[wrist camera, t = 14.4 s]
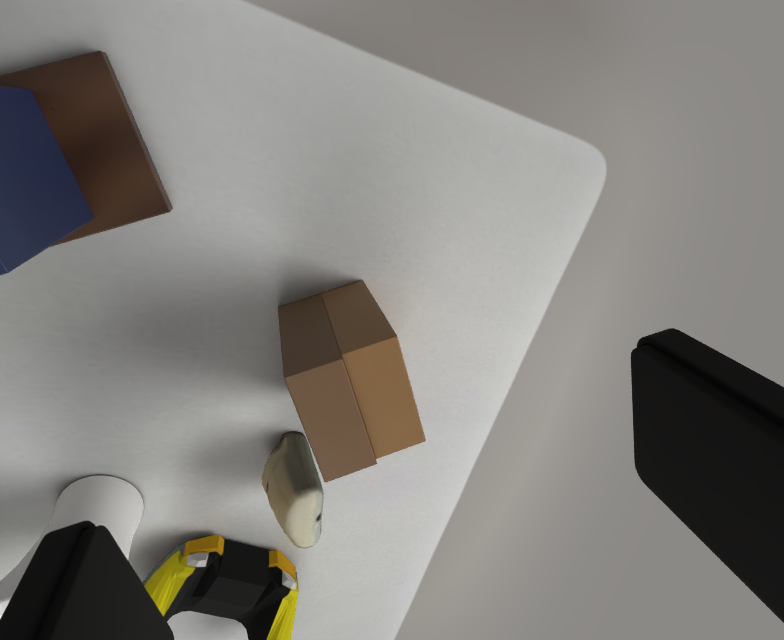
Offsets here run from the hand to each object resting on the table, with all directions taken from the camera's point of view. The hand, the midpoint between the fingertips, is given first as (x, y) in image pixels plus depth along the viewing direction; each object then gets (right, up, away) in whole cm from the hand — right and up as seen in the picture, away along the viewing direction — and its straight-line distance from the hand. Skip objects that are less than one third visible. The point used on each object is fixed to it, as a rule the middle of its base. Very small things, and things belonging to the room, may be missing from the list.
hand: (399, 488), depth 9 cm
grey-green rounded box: (-9, -9, +37) cm, 39 cm away
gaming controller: (-16, -21, +40) cm, 48 cm away
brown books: (-5, +2, +33) cm, 34 cm away
